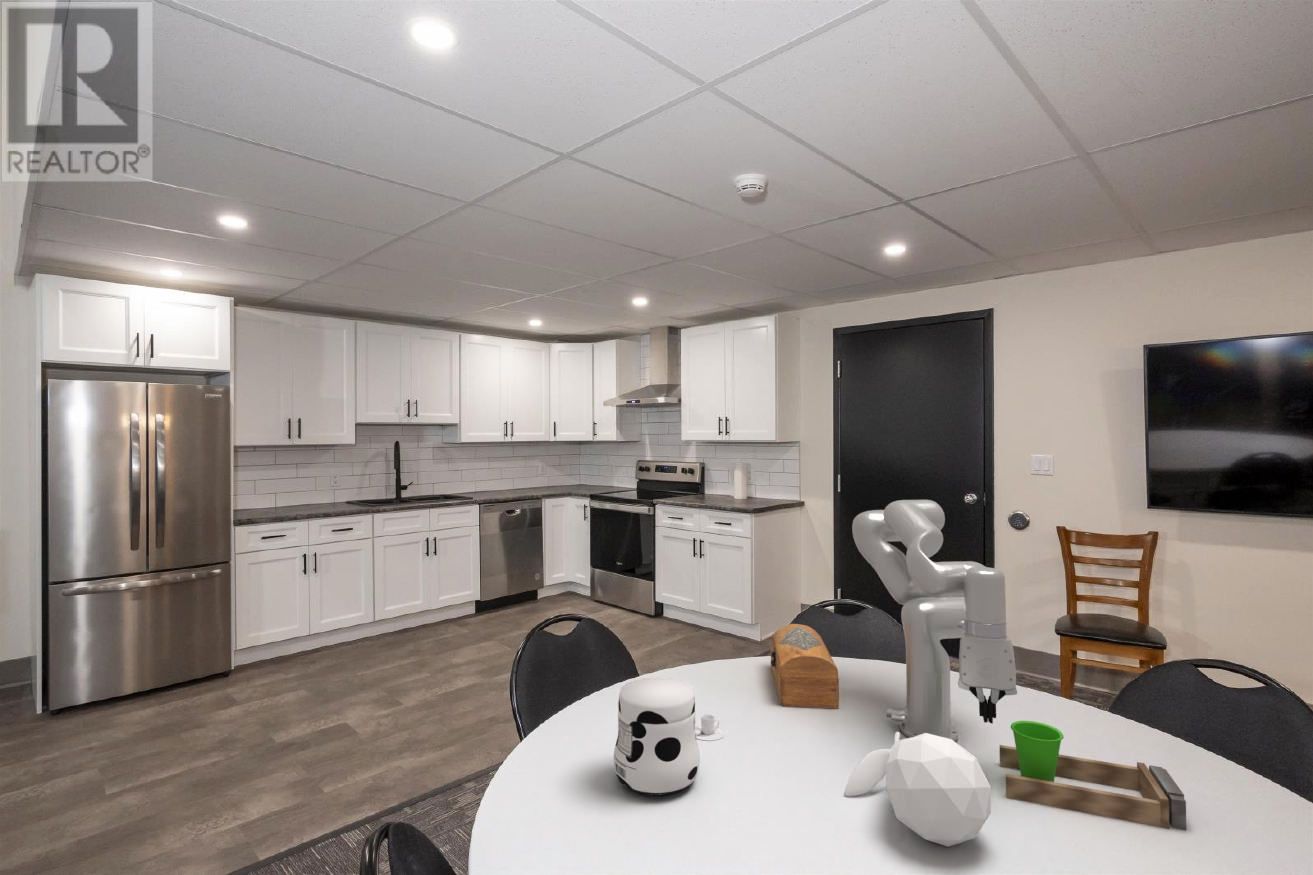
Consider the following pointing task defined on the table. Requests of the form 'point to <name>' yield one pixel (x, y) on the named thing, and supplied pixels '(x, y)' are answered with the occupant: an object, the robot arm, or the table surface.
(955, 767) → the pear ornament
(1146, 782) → the bay
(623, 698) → the milk container
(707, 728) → the teacup and saucer
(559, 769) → the table surface
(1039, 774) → the cup
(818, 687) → the wooden box
